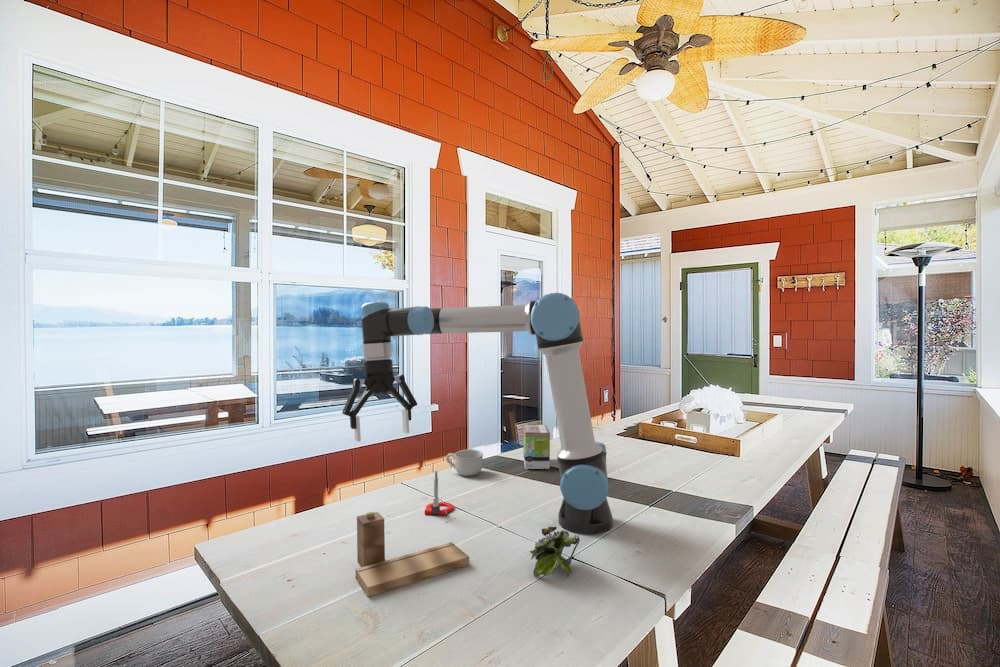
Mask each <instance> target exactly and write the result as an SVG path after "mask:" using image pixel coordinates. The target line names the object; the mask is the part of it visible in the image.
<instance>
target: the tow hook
mask: <svg viewBox="0 0 1000 667" xmlns="http://www.w3.org/2000/svg"><path fill="white" fill-rule="evenodd" d="M433 482H434V483H433V498H432V502H431V503H428V504H427V505H426V506H425V510H424V515H429V516H430V515H432V516H447V515H448V513H449V512H450V513H451V512H452V511H453V510H454V508H455V507H454V504H453V503H450V502H447V501H445V502H444V501H440V500H439V477H438V471H437V470H435V471H434V478H433ZM446 506H447V507H446ZM441 507H446V508H443V509H442V508H441Z"/></svg>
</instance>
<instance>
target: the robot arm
mask: <svg viewBox="0 0 1000 667" xmlns="http://www.w3.org/2000/svg"><path fill="white" fill-rule="evenodd" d="M360 310H361V314H360V315H361V318H360V323H361V330H362V331H361V332H362V348H363V359H365V361H364V363H363V367H364V378H362V379H361V378H354V379H353V380H352V388H351V390H350V393H349V395H348V397H347V400H346V402H345V405H344V407H343V409H342V411H341V413H342V414H343V415H344V416H346V417H347V416H348V417H349V422H350V425H349V427H350V428H351V429H352V430H354V441H355V442H361V436H362V435H361V424H360V423H361V422H360V416H359V415H358V413H360V411H361V410H362V408H363V407H364V405H365V404H366V402H367V401H368V400H369V398H370V396H372V395H373V394H374V395H376V394H378V395H379V394H381V393H382V394H385V393H389V394H391V396H393V398H395V399H396V400H397V402H398V403H399V404H401V406H402V407H403V409H401V418H402V419H401V420H402V433H404V434H410V422H409V421H412V409H413V408H414V407H416V406H418V402H417V400H416V398H415V397H414V395H413V394H412V391H411V390H410V388H409V386H408V384H407V383H406V379H405V375H404V374H397V375H394V373H393V372H394V367H393V365H394V364H393V360H392V359H391V357H393V351H392V350H393V349H392V337H399V336H402V337H403V336H421V335H438V334H440V335H441V334H467V333H468V334H469V333H470V334H471V333H473V334H474V333H475V334H477V333H509V332H510V333H511V332H528V334H530V335H532V336H534V335H535V338H536V344H537V349H538V350H537V351H539V352H541V354H543V355H544V356H545V362H546V366H547V372H548V373H547V374H548V378H549V383H550V384H549V385H550V389H551V394H552V401H553V406H554V413H555V419H556V424H557V429H558V435H559V440H560V446H561V447H560V449H559V450H558V452H557V453H556V458H557V463H558V470H559V476H560V481H559V489H560V492H561V495H562V497H563V498H562V502H561V504H560V508H559V510H558V516H557V517H558V519H557V520H558V521H559V522H558V524H559V526H560V525H561V527H562V529H565V530H566V529H567V530H566V531H570V532H572V533H576V532H577V533H576V534H584V535H597V534H602V533H605V532H607V531H610V530H611V529H612V528H613V526H614V525H613V524H614V522H613V519H614V517H613V514H612V511H611V508H610V505H609V501H608V498H607V497H608V495H609V492H610V491H609V490H610V482H609V479H608V471H607V448H606V445H605V443H603V442H599V441H596V439H595V435H594V429H593V422H592V419H591V418H592V417H591V412H590V407H589V400H588V395H587V389H586V388H587V387H586V383H585V378H584V373H583V367H582V360H581V356H580V355H581V354H580V348H581V347H582V345H583V343H584V338H583V337H584V336H583V332H582V325H581V320H580V311H579V308H578V305H577V304H576V302H575V301H574V299H572V298H571V297H570V296H569V295H567V294H564V293H562V292H561V293H560V292H550V293H546V294H544V295H543V296H540V298H539V299H537V300H530V301H528V302H527V304H517V305H516V304H513V305H488V306H467V307H466V306H463V307H462V306H461V307H442V308H439V307H438V308H436V307H435V308H433V307H432V308H430V307H429V306H425V305H424V306H421V305H420V306H418V305H417V306H409V307H401V308H390V306H389V303H388V302H385V301H384V302H383V301H380V302H379V301H377V302H365V303H364V304H362V305H361V308H360ZM394 382H396V383H397V384H398V385H399V387H400V389H401V390H402V393H403V394H404V396H405V398H404V397H403V396H402V394H401V393H399V391H398V390H397V389H396V388H395V387H394V386H393V384H394ZM363 384H364V386H365V387H366V388H365V390H364V391H363V393H362V394H361V396H360V397H359V399H358V400H357V402H356V403H355V401H356V399H357V396H358V394H359V391H360V388H362V386H363ZM354 403H355V404H354Z"/></svg>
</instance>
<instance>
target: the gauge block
mask: <svg viewBox="0 0 1000 667" xmlns="http://www.w3.org/2000/svg"><path fill="white" fill-rule="evenodd" d="M385 541H386V540H385V518H384V517H383V516H382V515H381V513H379V512H378V511H375V512H374V511H368V512H366V513H365V514H361V515H356V546H357V548H356V550H357V555H356V556H357V557H356V558H357V563H359V564H360V565H359V564H358V565H359V567H360V568H361V567H365V566H368V565H372V564H375V563H379V562H383V561H386V557H385V556H386V554H385V553H386V548H385Z"/></svg>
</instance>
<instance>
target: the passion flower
mask: <svg viewBox="0 0 1000 667" xmlns="http://www.w3.org/2000/svg"><path fill="white" fill-rule="evenodd" d="M557 528H558V527H557V526H548V527H547V528H546V527H545V528H541V534H542V535H543V536H544V537H541V539H538V542H535V543H534V549H533V550H532V549H531V550H529V551H528V552H529V553H530V554H532V555H531V560H533V559H535V560H537V561H536V563H535V565H534V568H533V571H532V573H533V576H534V578H536V577H538V578H539V577H540V576H545V577H546V576H549V575H550V574H552V573H553V572H554V571H556V569H557V568H558V566H561V568H563V571H566V572H567V577H568V576H569V575H570V574H572V573H573V570H572V568H571V564H572V562H573V561H572V560H573V556H574V554H575V551H576V550H577V547H578V545H579V543H580V540H581V539H580V537H579V534H578V535H576V534H575V535H574V536H571V537H570V533H569V532H568V530H564V529H562V530H559V531H556V530H557ZM552 533H553V534H552ZM572 545H575V546H574V548H573V551H572V553H571V555H570V556H569V557H567V558H565V557H564V556H563V555H562V553H563V550H564V549H565V547H566V548H570V547H571V546H572Z"/></svg>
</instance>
